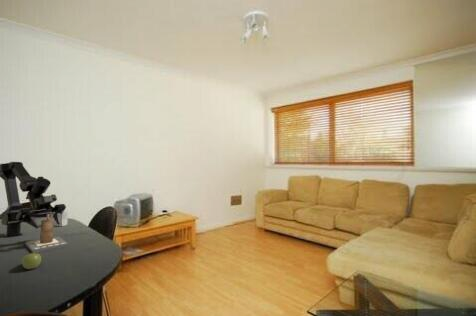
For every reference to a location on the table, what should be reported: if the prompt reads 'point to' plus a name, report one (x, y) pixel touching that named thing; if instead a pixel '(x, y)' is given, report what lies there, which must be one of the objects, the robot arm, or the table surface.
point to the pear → (31, 261)
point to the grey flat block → (46, 245)
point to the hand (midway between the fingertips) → (48, 225)
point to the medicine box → (62, 219)
